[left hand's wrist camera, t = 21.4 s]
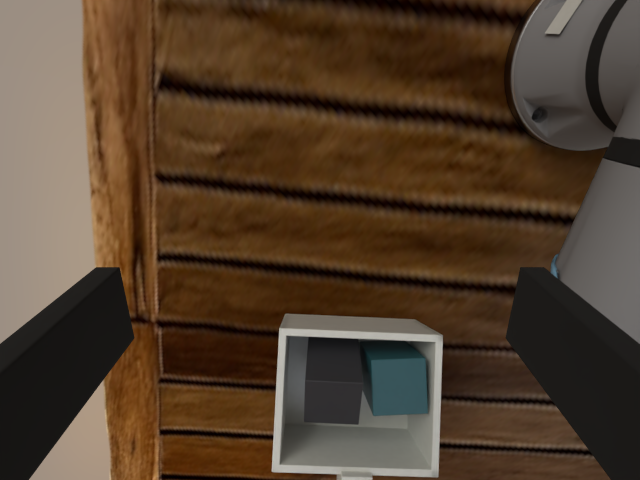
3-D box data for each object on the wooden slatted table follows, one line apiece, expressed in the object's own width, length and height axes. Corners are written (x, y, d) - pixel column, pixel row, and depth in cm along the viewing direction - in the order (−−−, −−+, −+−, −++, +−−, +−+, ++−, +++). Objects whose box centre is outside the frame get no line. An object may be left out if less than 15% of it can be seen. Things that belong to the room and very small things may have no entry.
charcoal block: (357, 327, 36) (363, 383, 30) (353, 365, 38) (358, 425, 31) (309, 325, 36) (305, 380, 30) (308, 362, 38) (303, 422, 31)
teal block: (404, 339, 38) (426, 357, 31) (406, 385, 38) (428, 414, 31) (359, 341, 38) (371, 359, 31) (360, 387, 38) (373, 416, 31)
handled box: (415, 319, 39) (446, 337, 30) (406, 564, 38) (436, 656, 29) (285, 313, 39) (278, 329, 30) (272, 560, 37) (261, 653, 29)
